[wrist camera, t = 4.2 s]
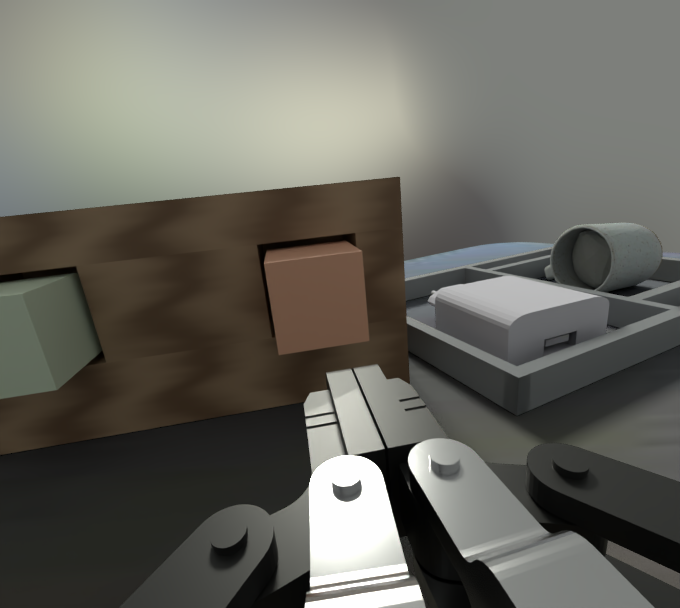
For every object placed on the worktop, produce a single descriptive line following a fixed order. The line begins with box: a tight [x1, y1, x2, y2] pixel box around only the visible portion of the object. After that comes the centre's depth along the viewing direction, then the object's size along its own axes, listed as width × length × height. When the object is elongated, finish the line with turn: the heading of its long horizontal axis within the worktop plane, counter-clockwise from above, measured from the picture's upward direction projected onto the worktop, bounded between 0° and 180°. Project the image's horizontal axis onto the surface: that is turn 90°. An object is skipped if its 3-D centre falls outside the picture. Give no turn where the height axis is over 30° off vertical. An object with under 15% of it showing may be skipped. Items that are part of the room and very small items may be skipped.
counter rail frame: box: [405, 247, 680, 416], centre depth 38 cm, size 35×24×2 cm
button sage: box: [0, 273, 103, 399], centre depth 20 cm, size 5×5×5 cm
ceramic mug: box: [545, 223, 662, 292], centre depth 42 cm, size 11×8×8 cm
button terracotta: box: [264, 240, 369, 355], centre depth 22 cm, size 5×5×5 cm
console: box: [0, 177, 410, 455], centre depth 26 cm, size 28×8×14 cm, turn 99°
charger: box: [428, 276, 609, 366], centre depth 33 cm, size 5×9×15 cm
